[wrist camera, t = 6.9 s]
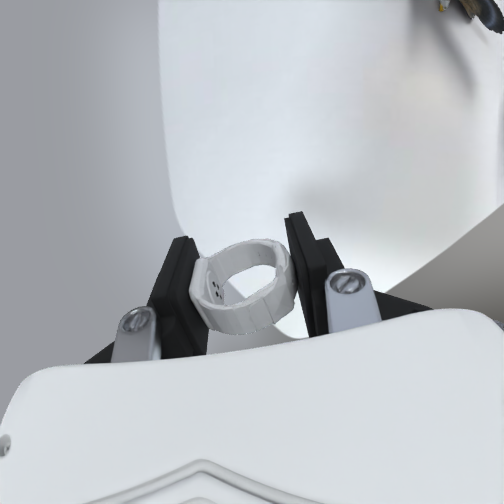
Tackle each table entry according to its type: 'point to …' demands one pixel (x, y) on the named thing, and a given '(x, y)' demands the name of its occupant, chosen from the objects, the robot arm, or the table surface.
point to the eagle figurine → (482, 12)
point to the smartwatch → (255, 306)
